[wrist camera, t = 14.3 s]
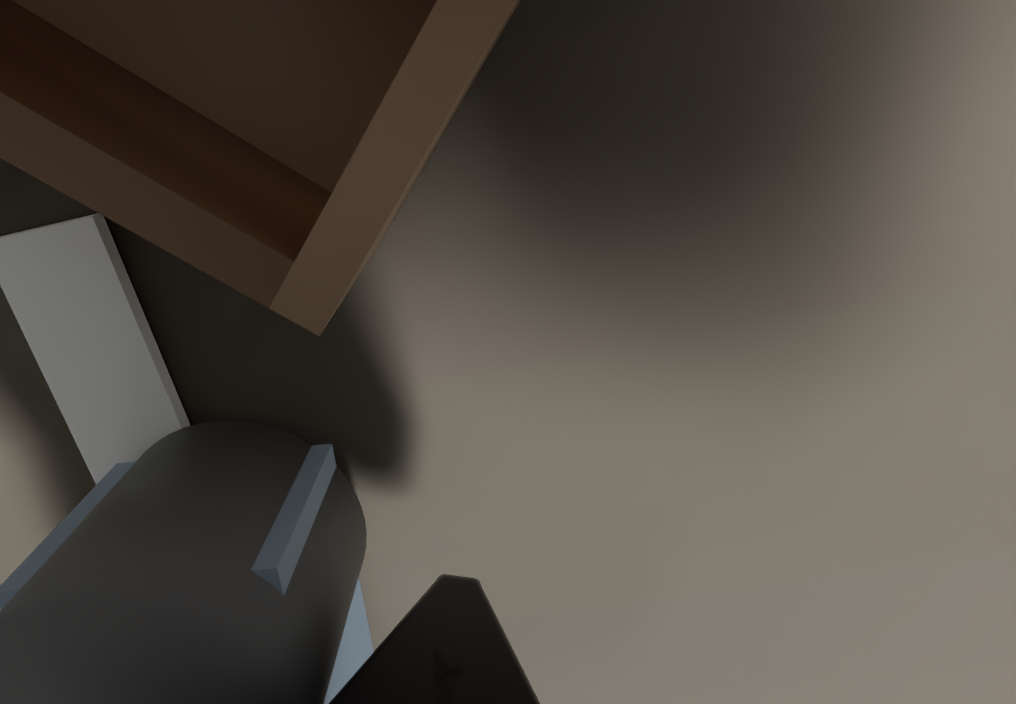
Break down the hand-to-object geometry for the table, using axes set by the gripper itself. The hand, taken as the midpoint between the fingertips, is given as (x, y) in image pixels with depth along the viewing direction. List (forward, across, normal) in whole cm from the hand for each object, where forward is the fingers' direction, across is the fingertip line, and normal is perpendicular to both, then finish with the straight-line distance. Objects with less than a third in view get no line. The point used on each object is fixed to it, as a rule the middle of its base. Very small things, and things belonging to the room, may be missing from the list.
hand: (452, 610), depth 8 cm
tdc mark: (+1, +4, -2) cm, 5 cm away
